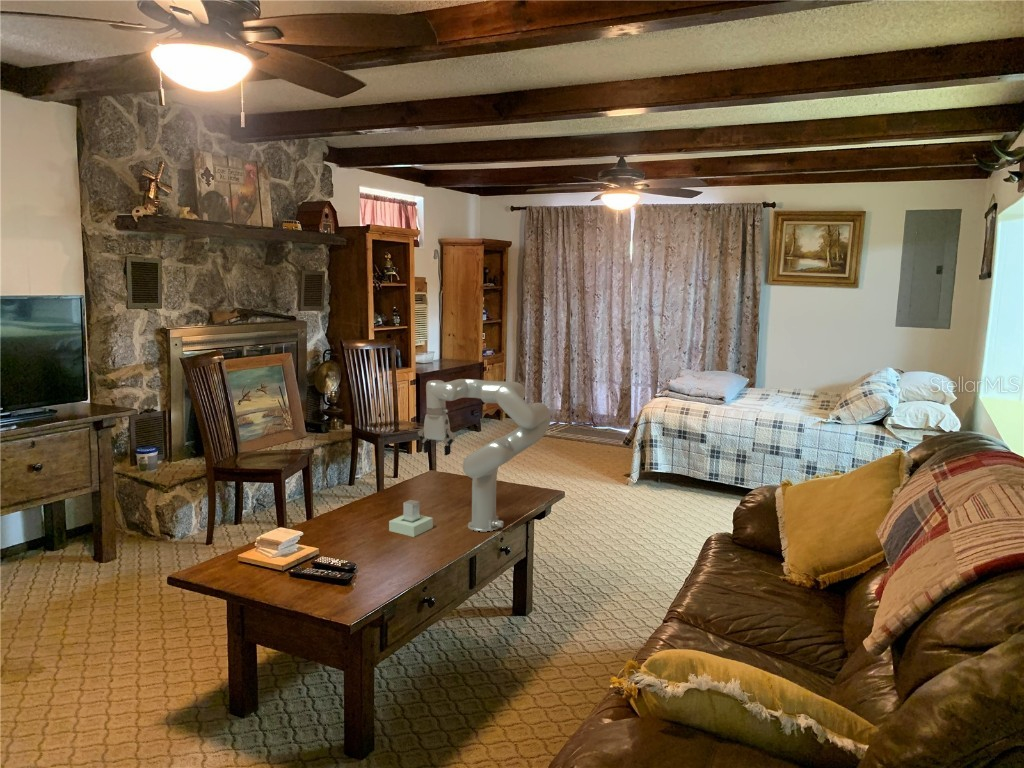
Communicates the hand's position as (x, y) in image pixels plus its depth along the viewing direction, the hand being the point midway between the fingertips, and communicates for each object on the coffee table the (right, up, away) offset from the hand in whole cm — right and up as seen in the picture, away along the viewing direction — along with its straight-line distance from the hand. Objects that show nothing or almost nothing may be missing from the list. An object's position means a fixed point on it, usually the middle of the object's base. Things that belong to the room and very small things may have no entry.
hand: (437, 453), depth 288 cm
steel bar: (-9, -29, -8) cm, 31 cm away
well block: (-9, -29, -8) cm, 31 cm away
